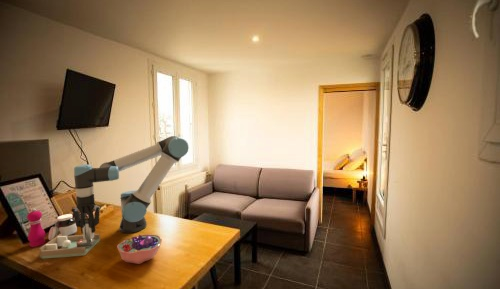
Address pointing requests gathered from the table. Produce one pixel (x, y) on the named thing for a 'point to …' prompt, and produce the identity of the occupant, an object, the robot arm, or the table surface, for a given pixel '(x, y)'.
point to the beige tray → (52, 252)
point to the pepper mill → (35, 229)
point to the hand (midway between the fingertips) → (89, 238)
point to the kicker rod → (86, 242)
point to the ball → (66, 243)
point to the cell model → (139, 248)
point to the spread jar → (63, 226)
